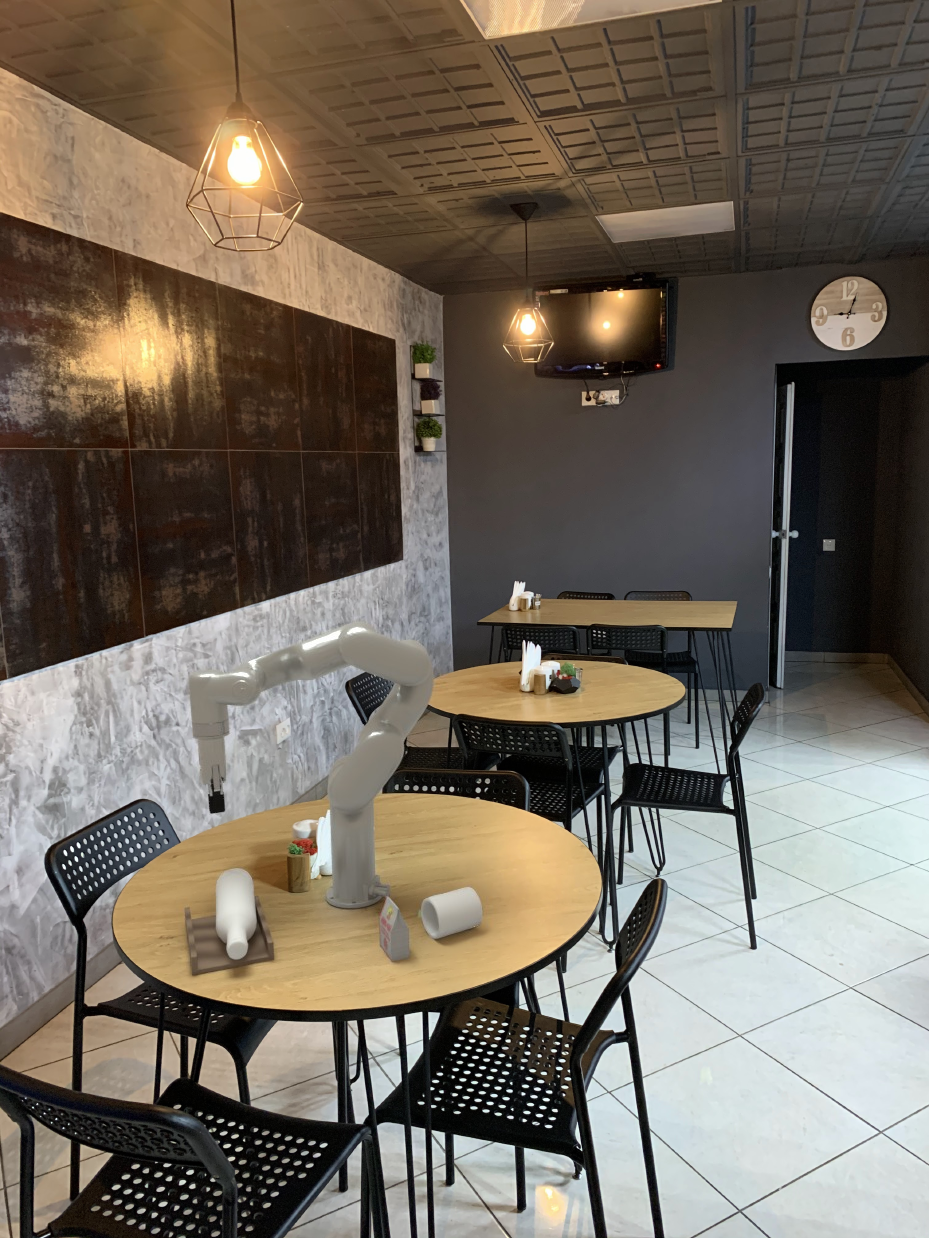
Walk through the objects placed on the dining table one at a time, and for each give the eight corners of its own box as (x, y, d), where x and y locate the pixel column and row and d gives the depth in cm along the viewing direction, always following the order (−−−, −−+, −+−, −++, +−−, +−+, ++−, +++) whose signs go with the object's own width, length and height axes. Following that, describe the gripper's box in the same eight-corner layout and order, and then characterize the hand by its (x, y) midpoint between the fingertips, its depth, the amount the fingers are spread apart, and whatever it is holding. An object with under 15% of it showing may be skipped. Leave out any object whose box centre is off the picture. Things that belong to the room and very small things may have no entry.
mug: (483, 932, 178) (482, 894, 177) (440, 945, 172) (439, 907, 171) (452, 910, 188) (452, 874, 187) (411, 922, 182) (410, 885, 182)
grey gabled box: (397, 941, 174) (396, 893, 173) (409, 957, 168) (408, 907, 167) (379, 946, 173) (378, 897, 171) (391, 961, 167) (389, 911, 165)
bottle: (257, 895, 192) (264, 961, 164) (222, 907, 191) (222, 977, 162) (247, 862, 191) (252, 923, 162) (211, 874, 189) (209, 939, 161)
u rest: (185, 923, 183) (184, 907, 183) (258, 911, 188) (257, 895, 188) (192, 975, 163) (191, 957, 162) (274, 959, 168) (273, 942, 168)
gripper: (190, 722, 192) (196, 803, 194) (194, 738, 178) (201, 825, 181) (225, 718, 195) (231, 798, 197) (232, 734, 181) (239, 820, 183)
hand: (217, 811), depth 189 cm, fingers closed
